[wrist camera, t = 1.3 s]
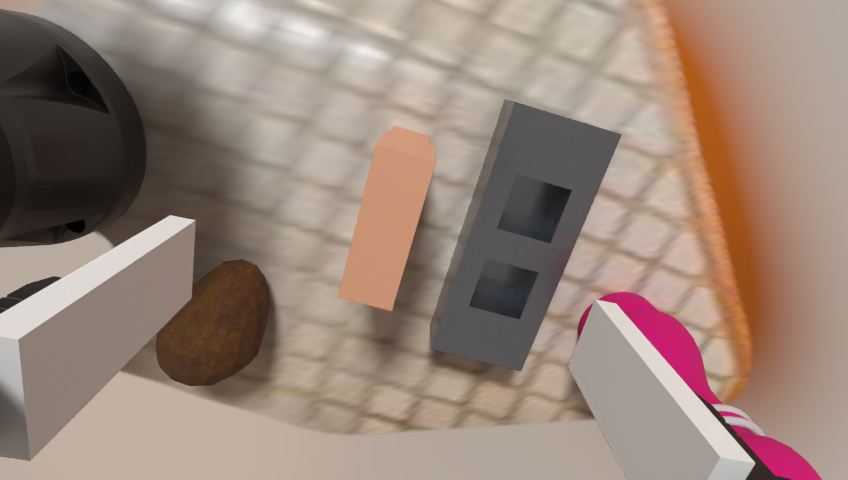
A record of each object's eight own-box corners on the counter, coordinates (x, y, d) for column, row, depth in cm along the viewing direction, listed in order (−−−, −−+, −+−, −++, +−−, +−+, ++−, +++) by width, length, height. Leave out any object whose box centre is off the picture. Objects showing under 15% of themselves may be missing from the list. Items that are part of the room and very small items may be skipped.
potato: (302, 278, 35) (274, 324, 28) (246, 374, 38) (208, 435, 31) (218, 233, 34) (168, 269, 27) (167, 335, 37) (111, 391, 30)
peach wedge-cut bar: (362, 236, 34) (338, 297, 24) (390, 124, 31) (376, 144, 22) (400, 247, 34) (391, 311, 25) (432, 137, 31) (436, 161, 22)
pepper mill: (677, 333, 36) (950, 603, 18) (600, 379, 38) (774, 673, 19) (634, 268, 35) (887, 493, 16) (554, 319, 36) (697, 580, 17)
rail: (430, 324, 36) (430, 349, 33) (504, 99, 30) (514, 101, 27) (512, 345, 37) (520, 371, 34) (600, 128, 31) (621, 134, 28)
